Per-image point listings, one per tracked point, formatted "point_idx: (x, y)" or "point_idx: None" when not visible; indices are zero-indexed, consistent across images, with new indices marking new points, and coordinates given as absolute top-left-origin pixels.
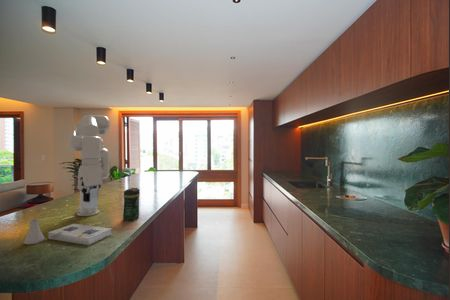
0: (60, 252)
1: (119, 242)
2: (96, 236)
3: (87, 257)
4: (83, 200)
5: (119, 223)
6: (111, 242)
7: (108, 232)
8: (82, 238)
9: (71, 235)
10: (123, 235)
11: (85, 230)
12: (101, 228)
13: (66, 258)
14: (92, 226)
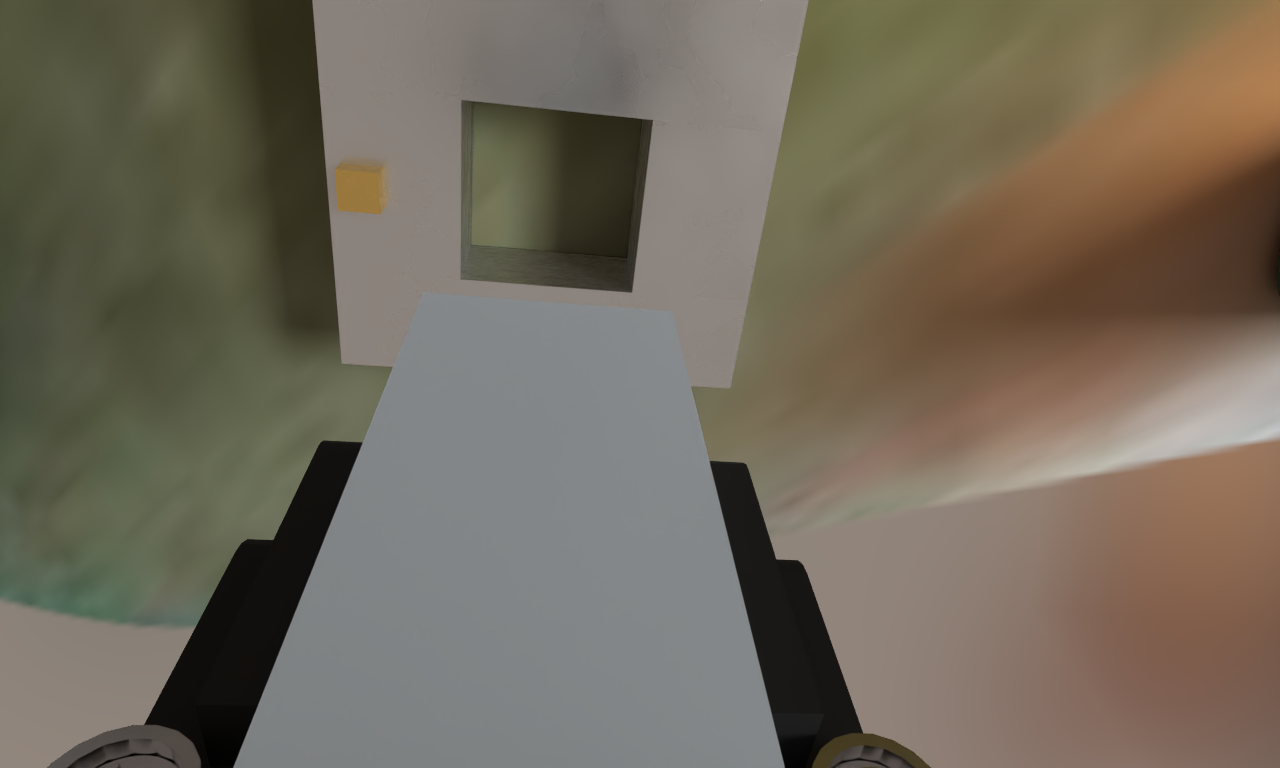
0: (60, 152)
1: None
2: None
3: (146, 502)
4: (318, 457)
5: (1173, 173)
6: None
7: None
8: (337, 252)
9: (325, 20)
10: None
11: (583, 73)
12: (715, 257)
13: (15, 343)
14: (783, 40)
